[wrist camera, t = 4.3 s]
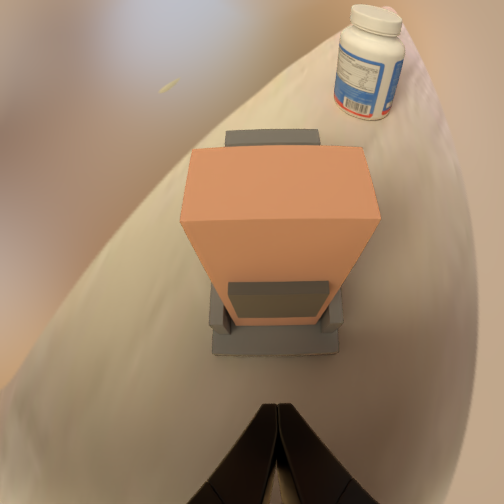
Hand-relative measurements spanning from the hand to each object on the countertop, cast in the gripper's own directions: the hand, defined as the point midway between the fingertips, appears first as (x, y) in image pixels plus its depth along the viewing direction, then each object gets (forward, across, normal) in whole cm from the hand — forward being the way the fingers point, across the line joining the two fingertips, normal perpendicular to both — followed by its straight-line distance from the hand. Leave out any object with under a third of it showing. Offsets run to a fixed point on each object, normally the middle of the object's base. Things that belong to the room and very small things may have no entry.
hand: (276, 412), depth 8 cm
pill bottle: (+22, +9, +12) cm, 26 cm away
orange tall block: (+7, 0, -1) cm, 8 cm away
